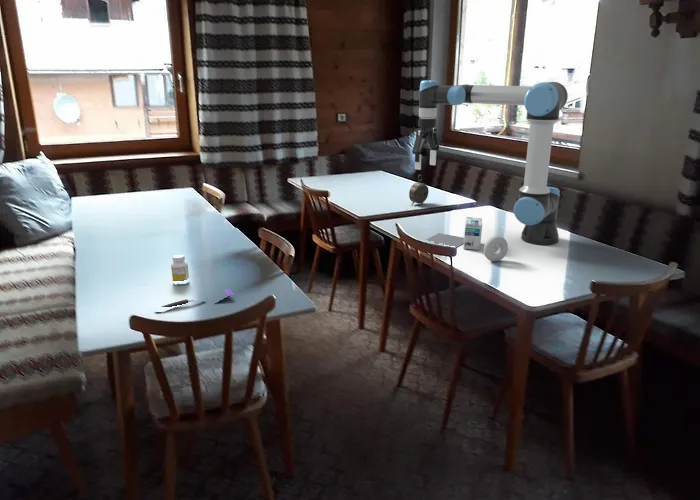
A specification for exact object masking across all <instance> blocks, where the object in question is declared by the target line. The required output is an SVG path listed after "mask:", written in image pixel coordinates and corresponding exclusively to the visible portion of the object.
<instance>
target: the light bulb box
mask: <svg viewBox="0 0 700 500" xmlns="http://www.w3.org/2000/svg"><path fill="white" fill-rule="evenodd" d="M482 219H483V218H481V217H473V216H465V221H464V222H465V223H464V230H463V231H464V233H463V238H464V244H463V248H462V249H465V250H466V249H467V250H474V251H480V249H481V243H482V230H483V220H482Z"/></svg>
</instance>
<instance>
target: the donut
mask: <svg viewBox="0 0 700 500" xmlns="http://www.w3.org/2000/svg"><path fill="white" fill-rule="evenodd" d="M497 245H498V249H497V250H496V252H494V251H493V250H494V247H495V246H497ZM508 250H509V245H508V242H507V240H506V239H505V238H504V237H503V236H500V235H494V236H491V237H489V238H488V239H487V240H486V242H485V244H484V245H483V255H484V257H485V259H487V261H491V262H498V261H501V260H502V259H504V257H505V256H506V255H507V253H508Z"/></svg>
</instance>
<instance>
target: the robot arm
mask: <svg viewBox="0 0 700 500" xmlns="http://www.w3.org/2000/svg"><path fill="white" fill-rule="evenodd" d="M418 93H419V103H418V104H419V105H418V117H419V118H418V120H417V121H418V125H417V126H418V128H420V130H416V134H415V135H416V136H415V139H414V142H413V143H414V144H413V147H412V150H411V153H412V155H414V170H419V171H420V170H422V154H421V153H422V150H423V148H424V146H425V144H426V142H427V141H428V144H429V147H430V148H431V149H430V150H429V165H430V166H437V165H436V164H437V151H439V150H440V143H439V138H438V137H439V136H438V128H436V126H437V119H436V118H437V110H438V109H437V108H438V107H437V106H438V105H451V106H460V105H462V104H482V105H483V104H484V105H500V106H501V105H503V106H504V105H506V106H522V107H524V109H525V110H526V118H525V120H526V121H527V122H528V123H529V131H528V140H527V141H528V142H527V149H526V150H527V151H526V161H525V168H524V169H525V170H524V171H525V172H524V179H523V185H522V186H521V187H520V188H518V189H519V190H518V200H517V201H516V202H515V204H514V205H513V214H514V217H515V218H516V220H517V221H519V222H520V223H521V224H523V225H524V227H523V228H522V231H521V236H520V239H521V240H522V241H524V242H525V243H528V244H533V245H541V246H542V245H543V246H544V245H545V246H548V245H549V246H550V245H556V244H558V243H559V239H560V238H559V237H560V235H559V232H558V231H559V230H558V226H557V219H558V217H557V216H558V210H559V202H560V197H561V194H560V192H561V191H560V189H559V188H558V187H555V186H549V185H548V177H549V169H550V168H549V167H550V162H551V161H550V160H551V159H550V158H551V153H552V152H551V151H552V141H553V136H554V135H553V133H554V125H555V124H557V122H558V121H559V117H560V110H562V109H563V108H564V106H565V105H566V103H567V102H568V97H569V96H568V95H569V94H568V91H567V88H566V86H564V85H563V84H562V83H560V82H557V81H549V82H548V81H544V82H539V83H534V85H529V86H528V85H525V86H524V85H485V84H484V85H482V84H476V85H475V84H469V83H468V84H459V85H458V84H457V85H439V83H438V81H437V80H432V79H431V80H429V79H427V80H421V81H420V85H419V91H418Z"/></svg>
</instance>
